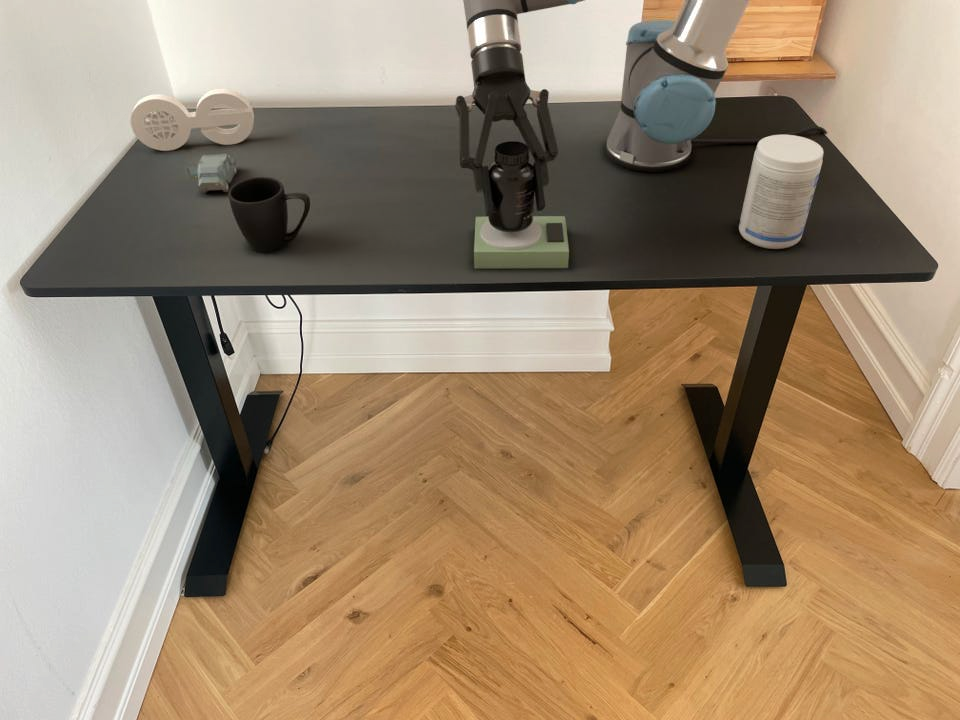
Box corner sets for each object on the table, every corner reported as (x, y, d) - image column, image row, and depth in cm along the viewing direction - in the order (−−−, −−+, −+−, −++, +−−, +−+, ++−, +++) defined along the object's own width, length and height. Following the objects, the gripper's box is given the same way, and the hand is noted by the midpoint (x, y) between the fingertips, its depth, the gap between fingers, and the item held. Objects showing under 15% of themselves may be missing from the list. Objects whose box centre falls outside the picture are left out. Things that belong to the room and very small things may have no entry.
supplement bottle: (478, 222, 118) (477, 148, 110) (508, 205, 121) (509, 132, 113) (513, 239, 114) (514, 164, 106) (542, 220, 118) (546, 146, 110)
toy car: (238, 169, 143) (232, 144, 139) (226, 196, 135) (219, 170, 132) (203, 169, 143) (196, 145, 139) (189, 197, 135) (181, 171, 132)
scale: (564, 232, 124) (565, 212, 122) (567, 268, 117) (569, 248, 114) (476, 232, 125) (475, 213, 122) (474, 268, 117) (473, 248, 115)
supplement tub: (812, 247, 120) (839, 158, 110) (755, 255, 118) (778, 166, 109) (780, 215, 127) (803, 129, 117) (726, 223, 126) (745, 137, 116)
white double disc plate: (140, 153, 148) (123, 102, 142) (141, 148, 150) (125, 97, 143) (258, 141, 151) (247, 90, 144) (258, 136, 153) (247, 86, 146)
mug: (309, 260, 120) (298, 206, 113) (234, 256, 121) (219, 202, 115) (323, 232, 126) (314, 178, 120) (252, 228, 127) (239, 175, 121)
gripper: (557, 62, 118) (576, 211, 117) (428, 72, 116) (446, 223, 115) (567, 39, 111) (588, 197, 110) (429, 49, 109) (449, 210, 108)
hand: (515, 210), depth 112 cm, fingers closed on supplement bottle, 7 cm apart
